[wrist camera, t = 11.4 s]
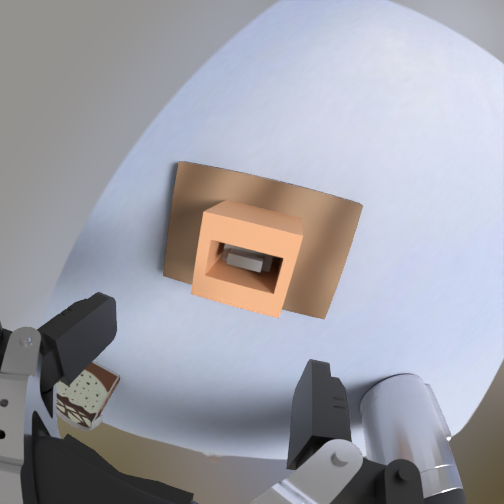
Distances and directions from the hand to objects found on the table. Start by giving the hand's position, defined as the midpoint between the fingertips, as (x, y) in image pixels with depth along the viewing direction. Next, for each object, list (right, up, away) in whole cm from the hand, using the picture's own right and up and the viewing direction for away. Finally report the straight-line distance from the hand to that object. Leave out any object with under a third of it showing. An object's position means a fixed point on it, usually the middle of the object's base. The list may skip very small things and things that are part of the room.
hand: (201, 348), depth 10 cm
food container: (-23, -16, +26) cm, 38 cm away
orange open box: (+2, +4, +14) cm, 15 cm away
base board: (+2, +5, +15) cm, 16 cm away
